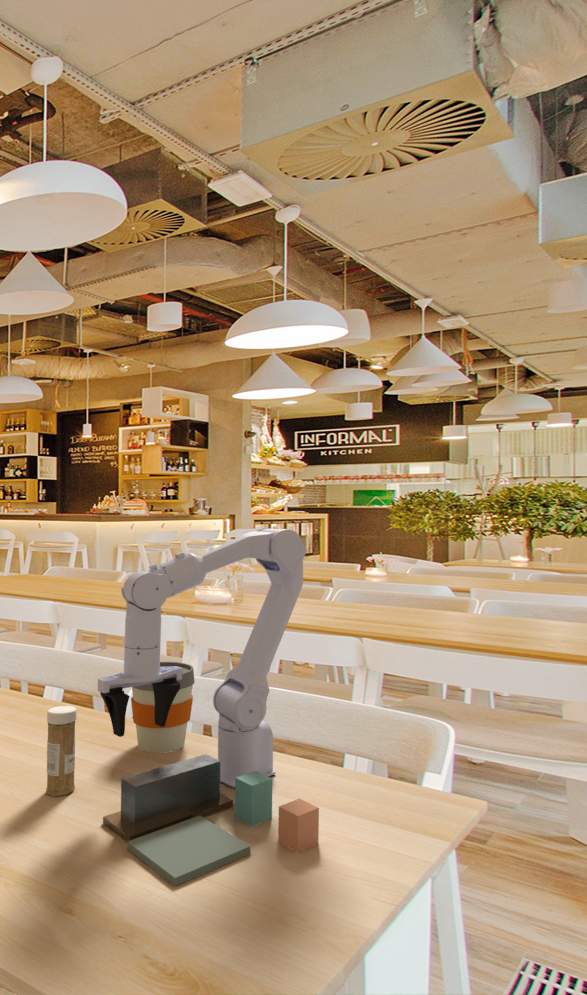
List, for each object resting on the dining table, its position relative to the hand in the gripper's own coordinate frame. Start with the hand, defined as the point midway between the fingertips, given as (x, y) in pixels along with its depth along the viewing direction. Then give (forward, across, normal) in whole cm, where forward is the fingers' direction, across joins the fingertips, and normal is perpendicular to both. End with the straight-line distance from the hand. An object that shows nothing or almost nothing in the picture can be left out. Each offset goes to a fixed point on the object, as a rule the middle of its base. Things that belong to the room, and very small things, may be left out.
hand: (139, 730), depth 109 cm
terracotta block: (+10, -9, +28) cm, 31 cm away
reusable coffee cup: (+11, -16, -18) cm, 26 cm away
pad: (+11, +4, +20) cm, 23 cm away
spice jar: (+11, +8, -10) cm, 17 cm away
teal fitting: (+10, -9, +18) cm, 23 cm away
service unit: (+11, 0, +9) cm, 14 cm away
